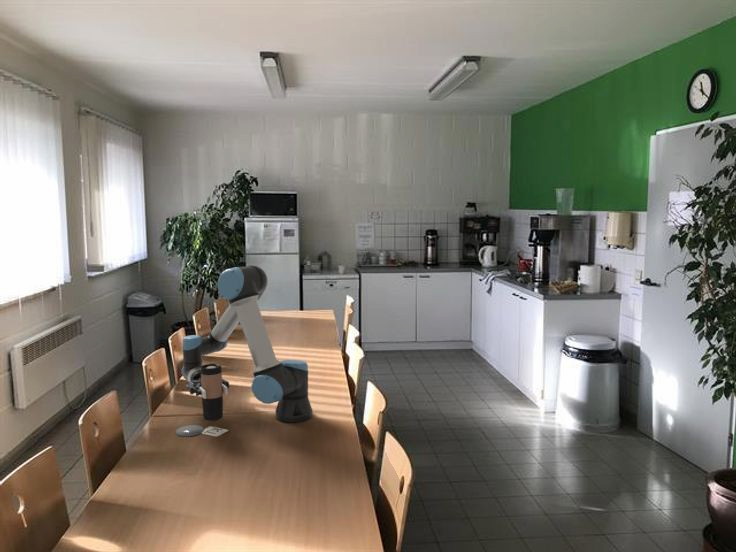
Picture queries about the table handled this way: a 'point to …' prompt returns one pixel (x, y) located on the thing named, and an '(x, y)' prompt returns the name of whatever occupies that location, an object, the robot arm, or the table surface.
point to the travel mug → (212, 392)
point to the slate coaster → (189, 430)
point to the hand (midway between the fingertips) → (215, 393)
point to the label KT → (214, 431)
